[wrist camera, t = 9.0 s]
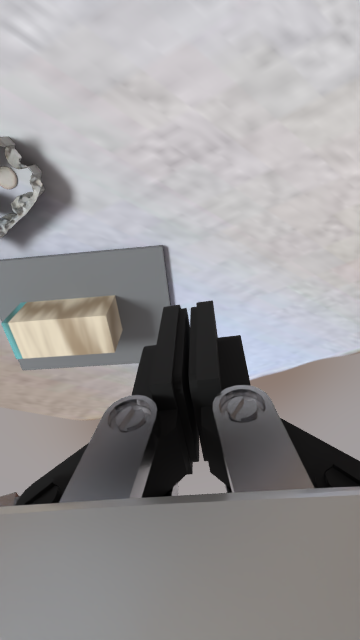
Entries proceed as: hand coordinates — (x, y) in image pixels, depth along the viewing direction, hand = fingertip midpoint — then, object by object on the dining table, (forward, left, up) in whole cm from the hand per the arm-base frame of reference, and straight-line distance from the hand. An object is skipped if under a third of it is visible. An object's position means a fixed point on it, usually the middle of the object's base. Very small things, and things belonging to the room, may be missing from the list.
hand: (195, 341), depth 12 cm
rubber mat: (+15, +13, -28) cm, 34 cm away
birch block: (+10, +13, -24) cm, 30 cm away
